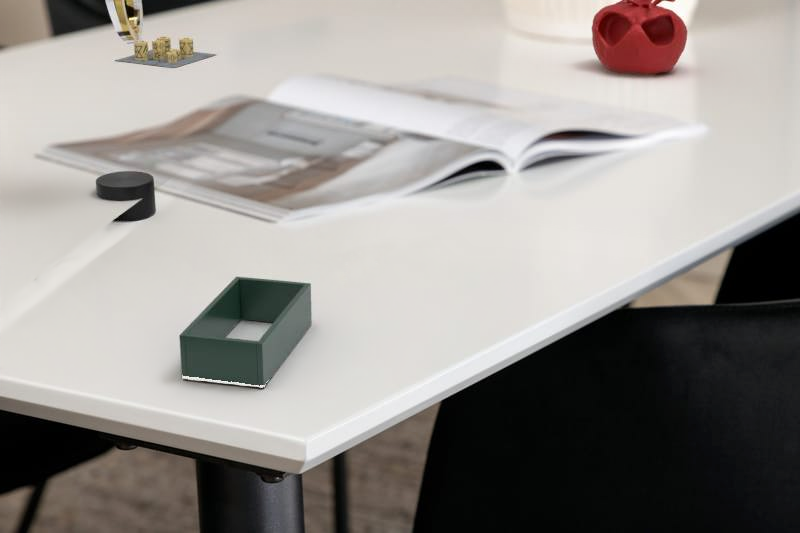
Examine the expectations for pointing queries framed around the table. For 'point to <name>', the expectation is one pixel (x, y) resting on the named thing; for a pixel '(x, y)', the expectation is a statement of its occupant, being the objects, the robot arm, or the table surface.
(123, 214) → the black round cut piece
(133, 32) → the ring
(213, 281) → the table surface
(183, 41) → the dice set
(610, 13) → the red rounded hollow piece
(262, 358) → the dark green hollow box
